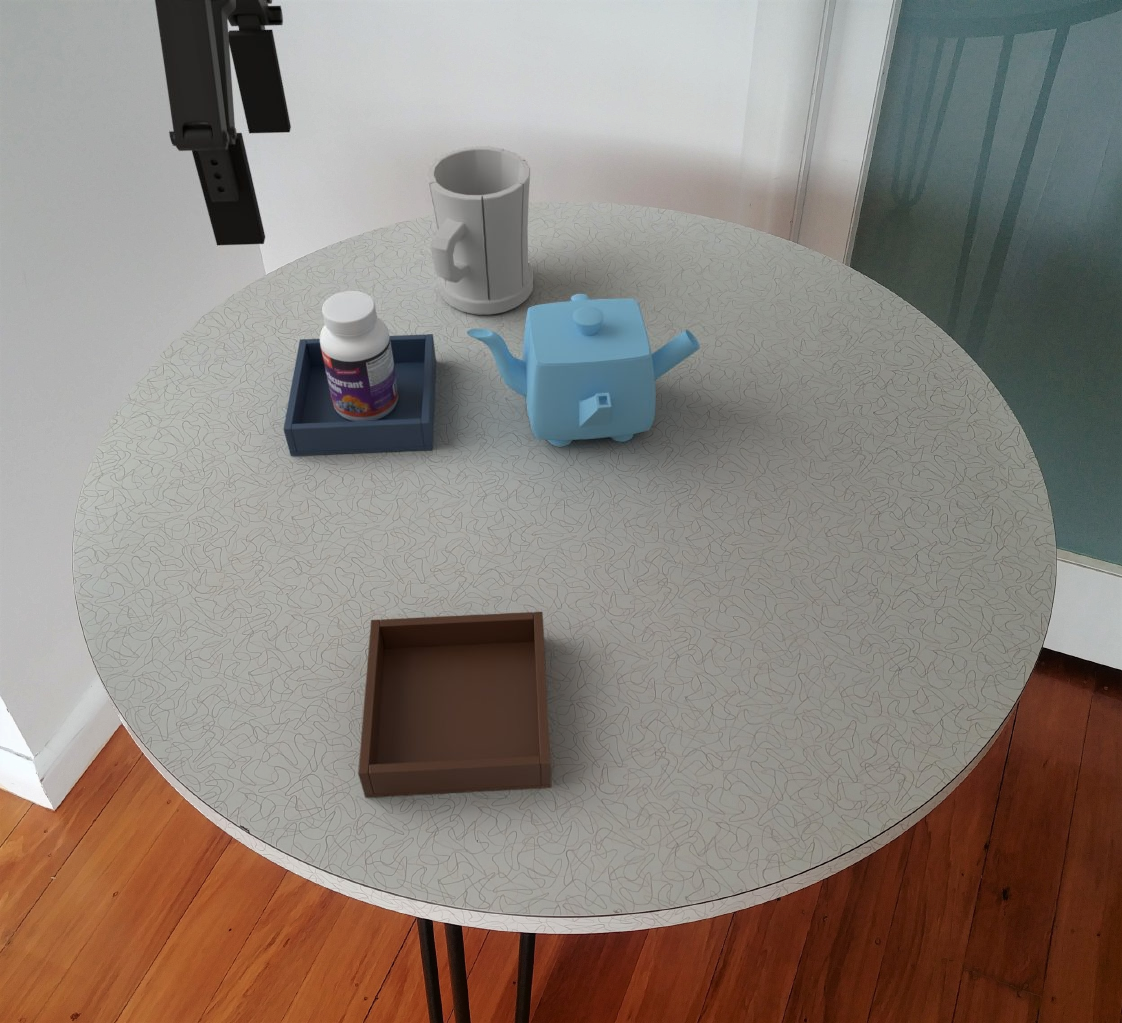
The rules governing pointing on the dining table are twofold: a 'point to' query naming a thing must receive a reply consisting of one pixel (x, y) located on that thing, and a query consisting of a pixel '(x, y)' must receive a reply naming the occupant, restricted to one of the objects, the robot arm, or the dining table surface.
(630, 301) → the teapot
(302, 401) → the far bin
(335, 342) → the pill bottle
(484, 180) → the cup
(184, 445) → the dining table surface
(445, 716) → the near bin
